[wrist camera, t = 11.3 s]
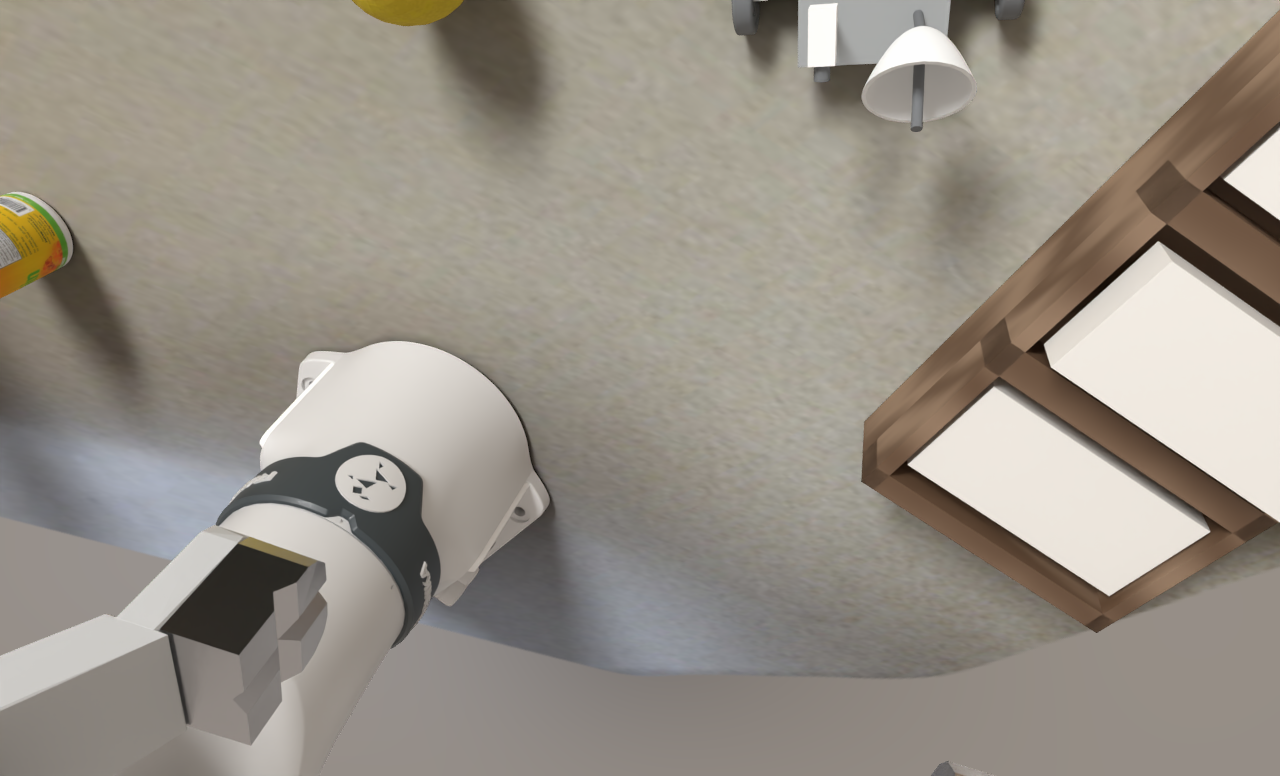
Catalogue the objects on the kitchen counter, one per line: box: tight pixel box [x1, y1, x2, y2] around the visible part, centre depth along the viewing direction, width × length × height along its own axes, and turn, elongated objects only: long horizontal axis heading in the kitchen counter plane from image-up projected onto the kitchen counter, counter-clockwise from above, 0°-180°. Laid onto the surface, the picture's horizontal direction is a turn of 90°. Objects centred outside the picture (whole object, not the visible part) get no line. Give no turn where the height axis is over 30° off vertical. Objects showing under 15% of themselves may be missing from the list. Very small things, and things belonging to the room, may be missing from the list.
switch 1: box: [1044, 241, 1280, 522], centre depth 35 cm, size 6×13×2 cm, turn 59°
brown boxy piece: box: [861, 10, 1280, 633], centre depth 38 cm, size 28×16×6 cm, turn 149°
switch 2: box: [907, 377, 1210, 596], centre depth 42 cm, size 6×13×2 cm, turn 60°
